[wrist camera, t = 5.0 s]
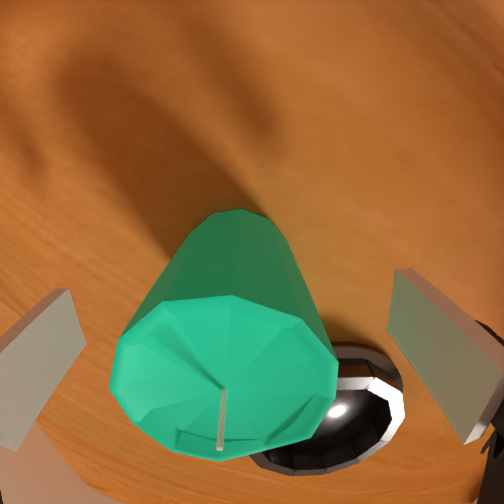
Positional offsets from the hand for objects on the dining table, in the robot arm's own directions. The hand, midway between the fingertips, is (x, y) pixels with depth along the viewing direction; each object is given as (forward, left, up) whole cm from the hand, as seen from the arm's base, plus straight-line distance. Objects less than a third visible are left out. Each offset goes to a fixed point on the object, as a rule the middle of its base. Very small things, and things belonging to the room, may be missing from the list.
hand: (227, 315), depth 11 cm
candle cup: (+6, +12, -6) cm, 15 cm away
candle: (0, 0, -6) cm, 6 cm away
